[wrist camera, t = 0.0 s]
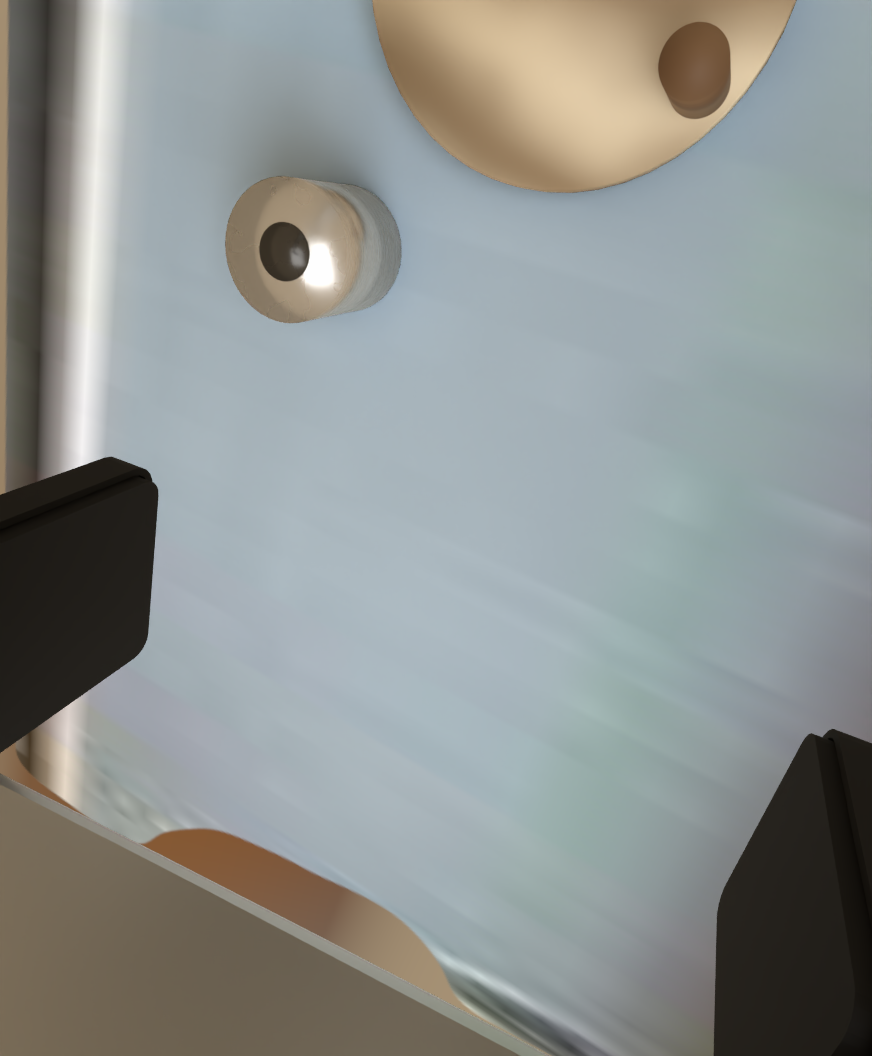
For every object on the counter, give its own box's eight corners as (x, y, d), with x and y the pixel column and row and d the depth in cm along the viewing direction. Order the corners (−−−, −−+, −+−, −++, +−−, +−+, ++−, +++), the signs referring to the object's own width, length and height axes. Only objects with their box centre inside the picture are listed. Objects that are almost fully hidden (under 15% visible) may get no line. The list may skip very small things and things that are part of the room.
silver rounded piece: (302, 172, 41) (231, 161, 35) (412, 200, 40) (357, 194, 34) (286, 294, 44) (217, 303, 38) (388, 324, 42) (333, 339, 36)
